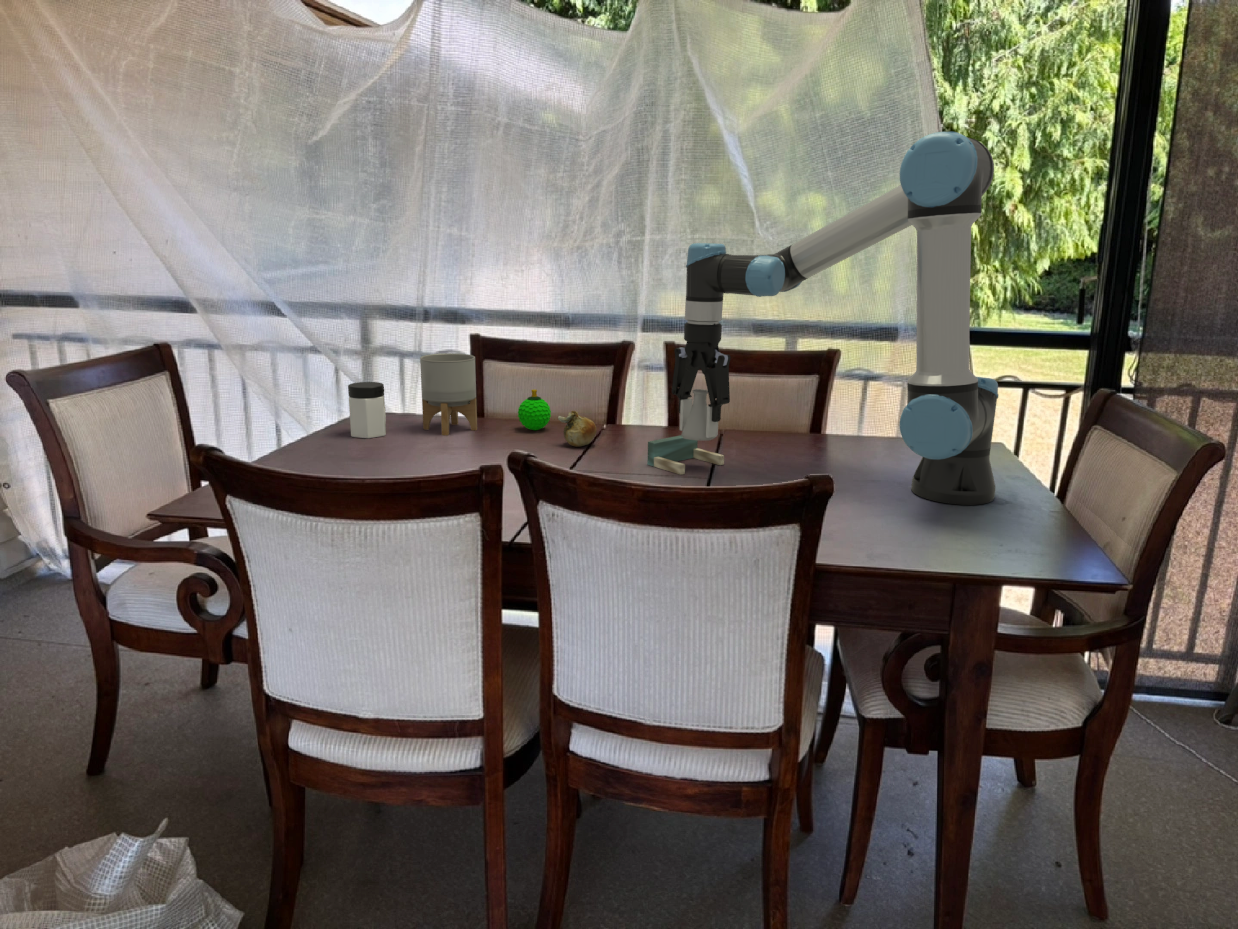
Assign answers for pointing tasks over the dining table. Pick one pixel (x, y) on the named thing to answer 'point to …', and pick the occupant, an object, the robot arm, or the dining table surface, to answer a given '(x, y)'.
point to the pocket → (678, 454)
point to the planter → (448, 389)
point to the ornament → (534, 412)
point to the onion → (578, 429)
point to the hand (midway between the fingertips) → (698, 432)
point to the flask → (697, 418)
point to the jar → (367, 409)
